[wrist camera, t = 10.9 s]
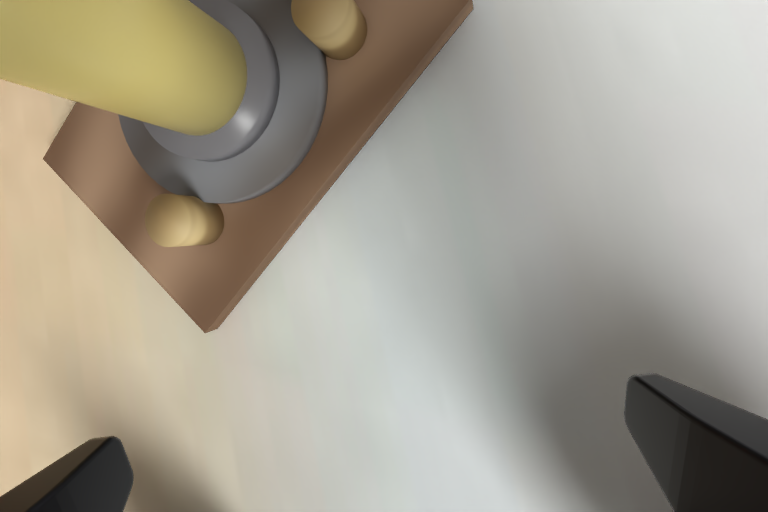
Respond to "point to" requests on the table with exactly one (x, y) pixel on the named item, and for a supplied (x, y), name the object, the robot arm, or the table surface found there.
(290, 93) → the board
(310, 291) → the table surface
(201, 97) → the yellow pillar candle
